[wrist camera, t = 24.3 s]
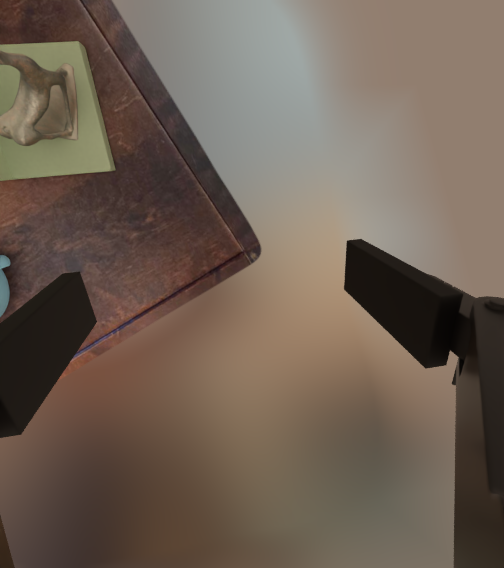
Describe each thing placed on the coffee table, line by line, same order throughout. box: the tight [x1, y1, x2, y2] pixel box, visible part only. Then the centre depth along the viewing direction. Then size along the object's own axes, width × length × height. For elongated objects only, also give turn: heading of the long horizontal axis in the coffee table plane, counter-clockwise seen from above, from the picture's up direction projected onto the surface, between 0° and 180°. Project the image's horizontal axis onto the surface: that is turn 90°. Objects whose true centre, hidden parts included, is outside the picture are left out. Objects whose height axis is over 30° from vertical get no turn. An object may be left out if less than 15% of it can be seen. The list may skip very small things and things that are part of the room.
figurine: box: [0, 51, 78, 146], centre depth 29 cm, size 11×6×15 cm, turn 125°
